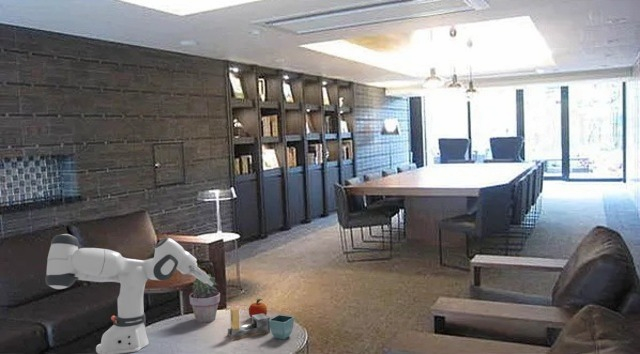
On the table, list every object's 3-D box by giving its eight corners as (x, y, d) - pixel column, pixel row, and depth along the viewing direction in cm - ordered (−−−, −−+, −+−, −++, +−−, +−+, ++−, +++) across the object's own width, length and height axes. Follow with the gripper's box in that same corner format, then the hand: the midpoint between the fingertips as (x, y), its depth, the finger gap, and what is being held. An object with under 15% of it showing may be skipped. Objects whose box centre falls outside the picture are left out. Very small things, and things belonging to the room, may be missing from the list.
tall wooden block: (233, 335, 259) (232, 310, 259) (231, 333, 262) (230, 308, 261) (253, 331, 264) (252, 307, 264) (250, 329, 267) (250, 305, 266)
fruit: (244, 319, 286) (244, 300, 285) (257, 314, 293) (257, 296, 293) (258, 323, 280) (257, 303, 279) (271, 318, 287) (270, 299, 287)
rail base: (233, 339, 257) (232, 324, 256) (227, 334, 264) (227, 319, 263) (270, 332, 266) (269, 317, 265) (263, 327, 273) (263, 313, 272)
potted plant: (206, 328, 274) (204, 278, 272) (180, 321, 285) (178, 273, 284) (232, 318, 288) (231, 271, 286) (207, 312, 300) (205, 266, 298)
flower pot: (268, 339, 257) (268, 320, 257) (278, 332, 265) (278, 314, 264) (285, 341, 253) (284, 322, 253) (294, 335, 261) (294, 316, 260)
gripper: (198, 263, 240) (220, 282, 246) (185, 254, 258) (206, 272, 264) (188, 274, 239) (211, 293, 244) (176, 265, 256) (197, 283, 262)
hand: (208, 282), depth 254 cm, fingers open, 8 cm apart
